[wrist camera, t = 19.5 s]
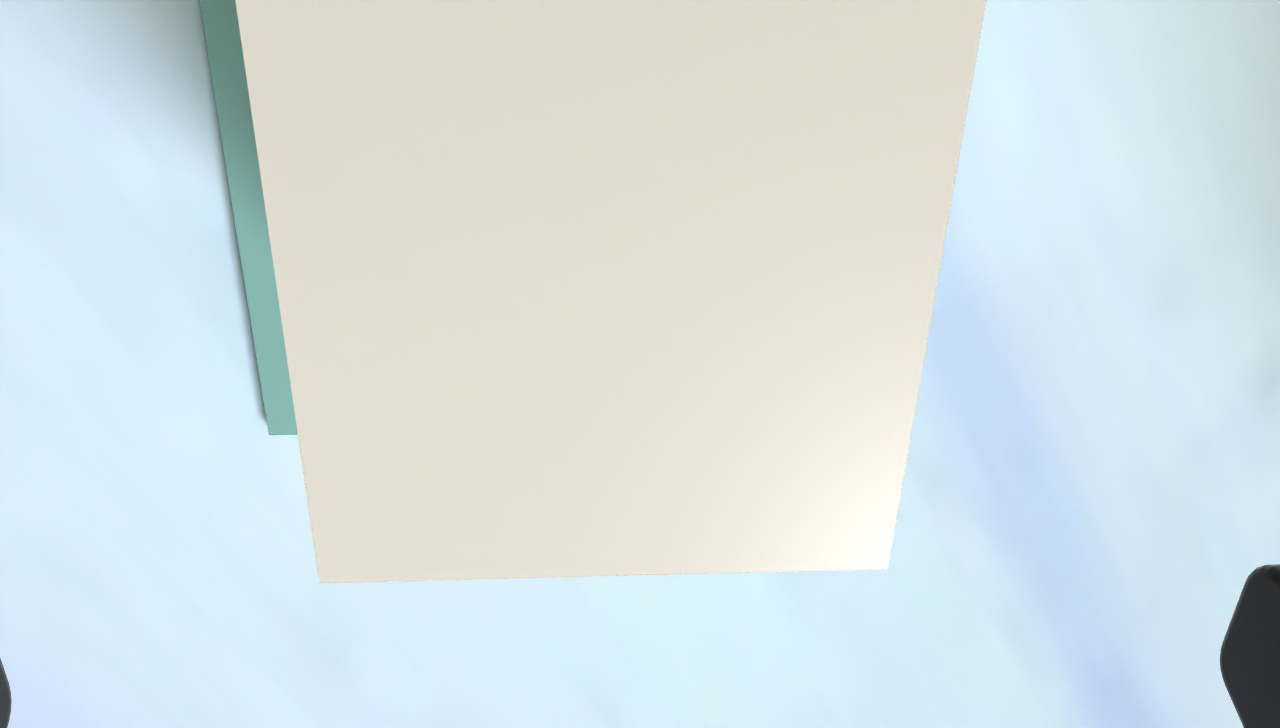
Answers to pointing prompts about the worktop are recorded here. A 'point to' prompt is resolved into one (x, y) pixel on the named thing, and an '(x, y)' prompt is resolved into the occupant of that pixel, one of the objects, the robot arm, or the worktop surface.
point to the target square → (249, 209)
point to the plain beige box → (605, 274)
